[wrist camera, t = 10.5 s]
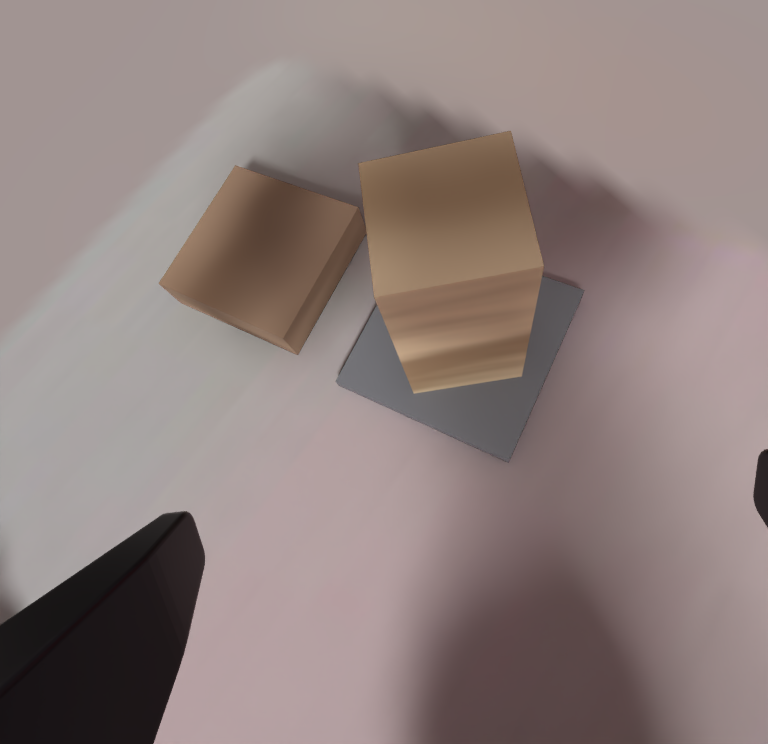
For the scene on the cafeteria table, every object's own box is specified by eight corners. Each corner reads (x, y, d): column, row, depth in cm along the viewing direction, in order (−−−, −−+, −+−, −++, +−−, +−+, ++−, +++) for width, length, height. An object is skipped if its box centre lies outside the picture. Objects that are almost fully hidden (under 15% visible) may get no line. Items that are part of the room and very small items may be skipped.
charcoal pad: (581, 296, 24) (584, 290, 23) (508, 462, 22) (509, 459, 22) (417, 239, 26) (415, 232, 26) (339, 385, 25) (335, 381, 24)
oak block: (521, 376, 23) (543, 266, 14) (413, 393, 23) (374, 297, 15) (501, 280, 24) (511, 130, 16) (400, 298, 25) (358, 163, 16)
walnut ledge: (367, 231, 27) (358, 207, 25) (297, 355, 25) (282, 338, 24) (251, 191, 29) (235, 165, 27) (180, 302, 27) (158, 283, 26)
